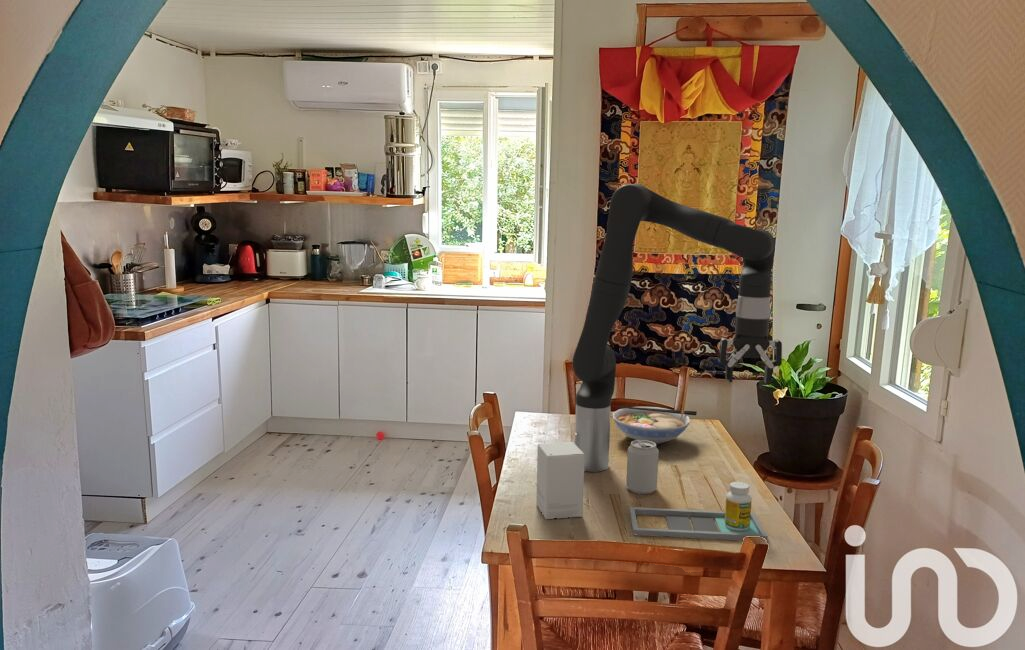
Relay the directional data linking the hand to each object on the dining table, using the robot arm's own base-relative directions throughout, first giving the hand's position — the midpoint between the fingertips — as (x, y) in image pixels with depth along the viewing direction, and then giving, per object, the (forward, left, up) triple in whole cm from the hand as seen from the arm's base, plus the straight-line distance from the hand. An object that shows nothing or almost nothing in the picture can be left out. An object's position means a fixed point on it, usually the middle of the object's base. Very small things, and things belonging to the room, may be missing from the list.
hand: (748, 382), depth 180 cm
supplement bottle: (-5, -20, -28) cm, 35 cm away
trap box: (-14, -20, -28) cm, 37 cm away
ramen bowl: (-18, +39, -28) cm, 51 cm away
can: (-24, 0, -28) cm, 37 cm away
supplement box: (-44, -15, -28) cm, 54 cm away
